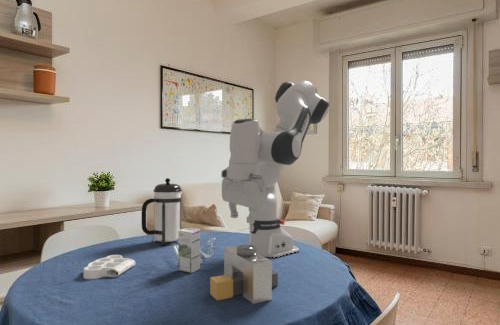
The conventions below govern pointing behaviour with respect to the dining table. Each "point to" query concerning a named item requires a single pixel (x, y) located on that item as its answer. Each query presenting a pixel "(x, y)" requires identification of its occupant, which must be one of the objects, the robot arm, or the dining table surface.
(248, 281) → the grey bridge block
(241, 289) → the grey and tan bar
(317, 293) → the dining table surface
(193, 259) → the syrup box
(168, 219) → the coffee press
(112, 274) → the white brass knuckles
